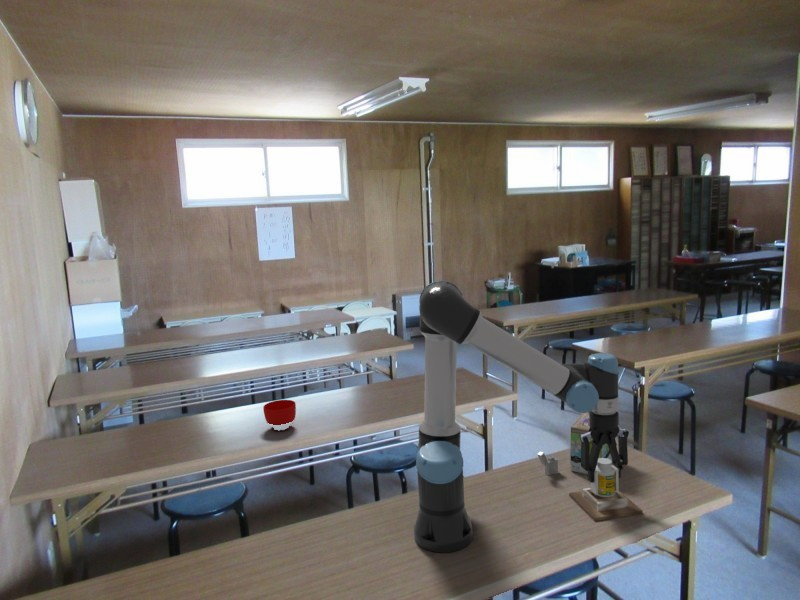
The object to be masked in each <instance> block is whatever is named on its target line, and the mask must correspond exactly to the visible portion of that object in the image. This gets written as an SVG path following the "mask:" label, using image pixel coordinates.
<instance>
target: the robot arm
mask: <svg viewBox="0 0 800 600" xmlns="http://www.w3.org/2000/svg"><path fill="white" fill-rule="evenodd" d="M418 303H419V307H418V308H419V332H420V333H421V335H422V336H424V346H425V347H424V414H423V415H424V420H423V421H422V422H421V423H420V424H419V425H418V444H417V448H418V449H417V452H416V460H415V467H416V470H417V471H416V473H417V486H418V487H417V489H418V505H419V509H418V512H417V516H416V519H415V523H414V526H413V527H414V528H413V534H414V540H415V542H416V544H417V545H419V547H421V548H423V549H424V550H427V551H430V552H435V553H452V552H457V551H459V550H462V549H464V548H465V547H467V546H468V545H470V543H471V541H472V540H473V537H474V536H473V535H474V533H473V525H472V522H471V519H470V517H469V514H468V512H467V510H466V507H465V487H464V485H465V484H464V483H465V482H464V458H463V457H464V456H463V454H462V450H461V430H462V429H461V426H460V424H459V423H457V422H456V409H457V406H456V403H457V402H456V401H457V352H458V351H457V350H458V349H457V348H458V345H461V346H462V345H466V344H467V345H468V346H470V347H472V348H473V349H475V350H477V351H479V352H480V353H482V354H483V355H485V356H487V357H489V358H490V359H492V360H494V361H496V362H498V363H499V364H500V365H502V366H503V367H505V368H507V369H509V370H511V371H512V372H513V373H516V374H517V375H519V376H520V377H522V378H525V380H527V381H529V382H531V383H533V384H534V385H536V386H538V387H540V388H541V389H543V390H544V391H546V392H547V393H549V394H552V395H553V396H554V397H556V398H557V399H559V400H560V401H562V402H564V403H565V404H567V406H568V407H569V408H570V409H572V410H573V411H574V412H576V413H579V414H583V413H588V414H589V423H590V428H589V431H588V433H585V434H582V433H581V434H580V435H579V437H580V440H581V467H582V468H583V469H584V470H586V471H588V474H587V480H588V481H589V482H590V488H591V491H592V492H593V493H594V494H595V495H598V472H597V471H596V466H597V462H598V458H599V454H600V450H601V449H602V446H603V445H604V444H608V447H609V451H610V454H611V458H612V460H611V461H612V468H613V469H614V471H615V491H616V492H618V491H620V490H619V489H620V488H619V485H620V484H619V481H620V480H619V479H621V478H622V470H623V469H624V466H628V464H629V456H628V437H629V435H630V432H629V430H627V429H625V428H624V427H621V428H620V427H619V425H620V424H619V422H620V420H619V417H620V416H619V412H618V411H619V373H620V372H619V362H618V361H619V360H618V358H617V357H616V356H615V355H614V354H610V353H606V352H604V353H603V352H600V353H599V352H598V353H592V354H590V355H589V356H588V358H587V359H588V360H587V362H580V363H559V362H557V361H556V360H554V359H553V358H551V357H549V356H548V355H547V354H544V353H542V352H541V351H540V350H538V349H537V348H535V347H533V346H531V345H529V344H528V343H526V342H524V341H522V340H521V339H520V338H518V337H516V336H515V335H513V334H511V333H509V332H508V331H506V330H504V328H503V329H502V328H501V327H499V326H498V325H496V324H494V323H493V322H491V321H489V320H488V319H486V318H485V317H483V315H482V310H481V311H480V310H479V309H477V308H476V307H474V306H473V305H472V304H470V303H469V302H468V301H467V300H466V299H465V297H464V296H463V293H462V291H461V290H460V288H459V287H458V286H457V285H456V284H454V283H452V282H449V281H446V280H437V281H433V282H431V283H429V284H427V285H426V286H425V287H424V288H423V289H422V291H421V293H420V296H419V302H418ZM617 436H618V437H617ZM590 437H592V438H593V439H592V448H591V452H590V444H589V442H590ZM616 438H617V439H618V440H617V441H618V447H617V441H616ZM589 453H590V456H589Z"/></svg>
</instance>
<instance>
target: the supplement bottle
mask: <svg viewBox="0 0 800 600" xmlns="http://www.w3.org/2000/svg"><path fill="white" fill-rule="evenodd" d="M612 465H613V461H612V460H610V459H607V458H599V459H598V462H597V466H596V471H597V472H598V496H600V497H605V498H608V497H612V496H614V495H615V471H614V469H613V468H612Z"/></svg>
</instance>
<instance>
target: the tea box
mask: <svg viewBox="0 0 800 600" xmlns="http://www.w3.org/2000/svg"><path fill="white" fill-rule="evenodd" d="M589 428H590V423H589V412H587V413H581V415H579V417H578V418H577V420H576V421H575V422H574V423H572V426H571V427H570V463H569V465H570V468H569V469H570V470H569V471H571V472H574V473H575V472H576V473H580V474H583V475H588V471H586V470H584V469H583V468H582V467H581V440H580V437H579V435H580V434H581V433H582V434H585V433H588V431H589ZM592 439H593V438H592V437H590V442H589V444H590V452H591V448H592ZM589 456H590V453H589ZM599 458H607V459H610V460H611V461H612V458H611V454H610V451H609V447H608V444H604V445H603V446H602V449H601V450H600V454H599ZM599 458H598V459H599Z"/></svg>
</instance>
